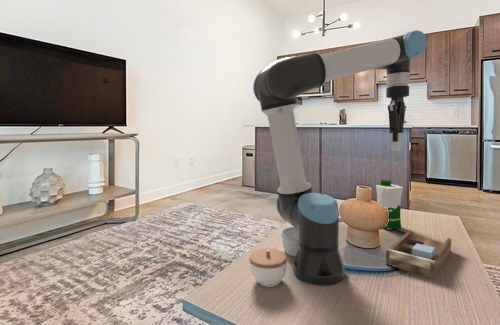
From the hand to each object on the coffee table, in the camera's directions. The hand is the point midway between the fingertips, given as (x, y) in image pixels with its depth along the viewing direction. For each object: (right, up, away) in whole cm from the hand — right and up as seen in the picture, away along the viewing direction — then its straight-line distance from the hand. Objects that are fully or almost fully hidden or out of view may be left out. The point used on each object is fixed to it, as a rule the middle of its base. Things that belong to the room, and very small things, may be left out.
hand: (396, 150), depth 106 cm
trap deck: (+1, -36, -13) cm, 38 cm away
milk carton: (+5, -33, +17) cm, 37 cm away
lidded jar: (-50, -39, -24) cm, 68 cm away
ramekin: (-37, -37, -4) cm, 52 cm away
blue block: (-2, -35, -20) cm, 40 cm away
